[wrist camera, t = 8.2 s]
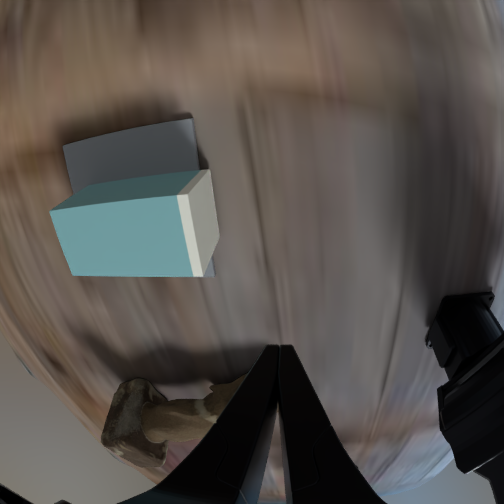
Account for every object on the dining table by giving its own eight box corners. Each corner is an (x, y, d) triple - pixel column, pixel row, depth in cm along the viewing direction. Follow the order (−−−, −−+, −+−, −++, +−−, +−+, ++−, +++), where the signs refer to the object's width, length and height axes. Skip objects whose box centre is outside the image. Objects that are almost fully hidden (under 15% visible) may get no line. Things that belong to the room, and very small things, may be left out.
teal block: (187, 194, 15) (49, 211, 16) (203, 276, 17) (72, 275, 19) (210, 169, 19) (88, 185, 21) (219, 236, 22) (104, 241, 23)
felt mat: (193, 118, 18) (191, 118, 18) (215, 274, 24) (214, 277, 24) (65, 144, 19) (62, 145, 19) (101, 273, 25) (99, 275, 25)
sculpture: (248, 339, 41) (312, 401, 28) (130, 425, 36) (155, 507, 23) (222, 302, 38) (286, 364, 25) (94, 397, 33) (106, 486, 20)
